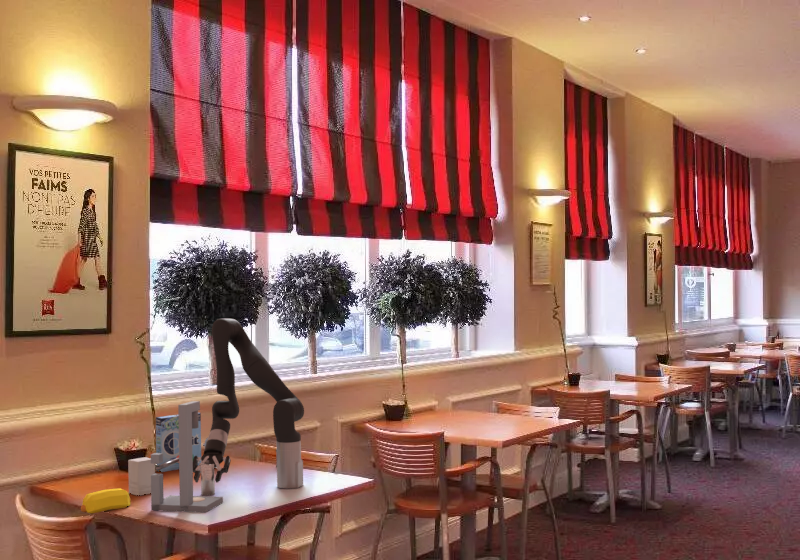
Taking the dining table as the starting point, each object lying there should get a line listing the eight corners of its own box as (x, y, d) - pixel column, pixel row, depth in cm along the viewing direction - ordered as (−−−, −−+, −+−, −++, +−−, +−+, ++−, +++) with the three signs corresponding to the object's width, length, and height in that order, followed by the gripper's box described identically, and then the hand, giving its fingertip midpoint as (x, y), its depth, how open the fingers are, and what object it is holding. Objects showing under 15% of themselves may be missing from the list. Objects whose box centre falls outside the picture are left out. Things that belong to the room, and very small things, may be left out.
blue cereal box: (196, 464, 377) (195, 411, 378) (202, 465, 374) (201, 412, 374) (155, 471, 364) (154, 416, 364) (161, 472, 360) (160, 417, 361)
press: (222, 502, 303) (221, 400, 304) (206, 512, 289) (204, 405, 290) (170, 501, 307) (168, 400, 308) (151, 510, 293) (149, 404, 294)
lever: (186, 462, 314) (186, 453, 314) (161, 473, 294) (161, 464, 295) (178, 462, 314) (178, 453, 314) (152, 473, 295) (152, 463, 295)
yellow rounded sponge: (136, 507, 300) (126, 503, 306) (135, 487, 300) (125, 484, 306) (85, 516, 288) (76, 512, 294) (85, 496, 288) (75, 493, 294)
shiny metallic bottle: (216, 492, 319) (216, 459, 319) (211, 495, 314) (210, 461, 314) (204, 492, 320) (204, 458, 320) (199, 495, 315) (198, 461, 315)
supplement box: (156, 492, 321) (155, 458, 322) (137, 496, 316) (137, 461, 316) (146, 490, 326) (145, 456, 327) (128, 493, 321) (127, 459, 322)
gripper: (195, 438, 326) (184, 475, 314) (232, 438, 324) (222, 475, 312) (200, 450, 331) (190, 486, 319) (236, 450, 329) (227, 487, 317)
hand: (206, 481), depth 316 cm, fingers open, 7 cm apart
